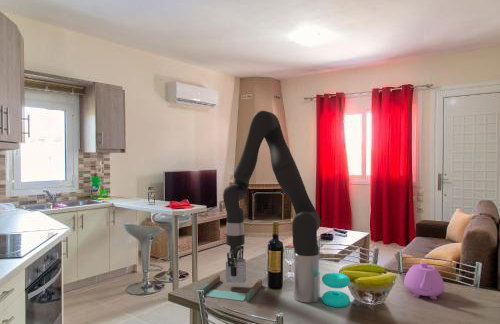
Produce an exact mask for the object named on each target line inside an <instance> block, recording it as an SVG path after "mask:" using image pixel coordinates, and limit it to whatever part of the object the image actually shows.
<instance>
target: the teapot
mask: <svg viewBox="0 0 500 324" xmlns="http://www.w3.org/2000/svg"><path fill="white" fill-rule="evenodd" d="M403 283H404V287H405V288H406V289H407V290H408V291H409V292H411V293H412V297H413V298H417V299H418V298H420V296H424V297H429V299H431V300H433V301H434V300H438V298H437V297H438V296H440V295H441V294H442V293H443V292H444V291H445V283H444V279H443V277H442V275H441V274H440V272H439V271H438V270H437V268H436V267H435V266H433V265H430V264H429V263H428V262H426V261H420V262H419V263H416V264H412V266H411V267H409V269H408V270H407V272H406V274H405V276H404V282H403Z"/></svg>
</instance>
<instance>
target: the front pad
mask: <svg viewBox="0 0 500 324" xmlns="http://www.w3.org/2000/svg"><path fill="white" fill-rule="evenodd" d="M246 294H247V292H246V293H244V292H237V291H235V292H234V291H228V290H219V289H212V288H211V289H210V290H209V291H207V292H206V293H205V294H204V295H203V296H204V297H208V298H217V299H222V300H223V299H224V300H230V301H231V300H233V301H238V302H244V301H246Z"/></svg>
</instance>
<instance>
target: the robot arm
mask: <svg viewBox="0 0 500 324" xmlns="http://www.w3.org/2000/svg"><path fill="white" fill-rule="evenodd" d="M246 137H247V138H246V140H245V144H244V147H243V150H242V153H241V156H240V158H239V160H238V163H237V165H236V168H235V170H234V173H233V178H234V182H233V184H230V185H227V186H225V188H224V190H223V194H222V199H223V204H224V208H225V212H226V224H225V225H226V227H225V231H226V234H225V237H226V238H225V239H226V245H227V246H229V252H226V261H227V260H228V267H231V276H234V277H235V276H236V265H237V261H238V259H244V252H245V251H244V248H245V246H244V245H245V243H246V242H245V241H246V239H245V222H244V220H245V219H244V210H243V208H242V207H240V202H241V201H242V200H243V199H244V198H245V197H246V195H247V192H248V190H249V185H250V179H251V178H252V175H253V173H254V171H255V169H256V166H257V163H258V158H259V152H260V151H259V150H260V148H261V145H262V143H263V141H264V140H265V142H266V143H267V147H268V149H269V153H270V162H271V168H272V171H273V174H274V177H275V178H276V182H277V183H278V185H279V187H280V188H281V190H282V191H283V193H284V194H285V195H286V196H287V198H288V199H289V201H290V202H291V205H292V207H293V210H294V213H295V216H294V217H293V219H292V223H291V224H292V227H291V229H292V230H291V231H292V233H291V235H292V245H293V250H294V252H293V254H294V258H293V259H294V260H293V264H294V265H293V266H294V267H293V268H294V269H293V270H294V272H293V273H294V274H293V275H294V279H293V280H294V281H293V283H294V288H293V289H294V290H293V295H294V296H293V297H294V299H295V300H296V301H297V302H301V303H306V304H307V303H318V302H319V299H320V294H321V293H320V291H321V289H320V288H321V286H320V284H321V282H320V276H321V275H320V271H319V270H320V269H319V268H320V266H319V265H320V262H319V261H320V247H319V244H318V235H317V233H318V230H319V229H320V226H321V218H320V215H319V213H318V212H317V210H316V208H315V206H314V205H313V203H312V200H311V199H310V197H309V195H308V192H307V190H306V186H305V183H304V181H303V178H302V176H301V174H300V173H301V172H300V170H299V169H298V166H297V164H296V162H295V159H294V157H293V155H292V152H291V151H290V148H289V145H287V142H286V140H285V137H284V133H283V131H282V127H281V124H280V120H279V118H278V117H277V115H275V114H274V113H272V112H270V111H266V110H259V111H257V112H256V113H255V114H254V115H253V116H252V118H251V122H250V125H249V130H248V134H247V136H246ZM234 261H235V262H234Z"/></svg>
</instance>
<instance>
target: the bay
mask: <svg viewBox="0 0 500 324" xmlns="http://www.w3.org/2000/svg"><path fill="white" fill-rule="evenodd" d="M220 281H221V275H220V274H217V275H215V276H213V277H212V278H211V279H210V280H209V281H208V282H206V283H205V284H204V285H202V286H201V287H200V288H199V290H204V293H205V294H207V293H208V292H209V291H210V290H211V289H212V288H213V287H214V286H216V285H217V284H219V282H220ZM262 286H263V279H257V281H256V283H254V284H253V286H252V287H251V288H250V289H249V290H248V291H247V292H246V299H245V302H247V303H249V302H250V301H251V300H252V298H253V297H254V296H255V295H256V294H257V292H258V291H259V290H260V289H261V288H262ZM199 290H198V291H199Z"/></svg>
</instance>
